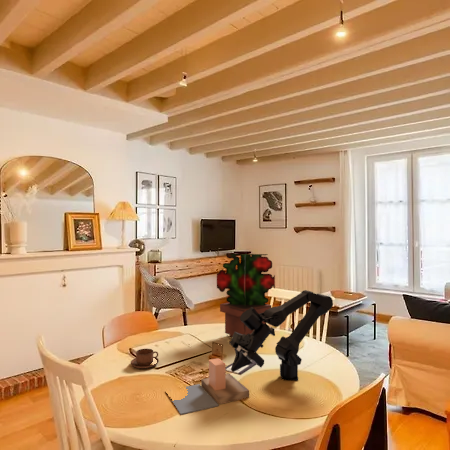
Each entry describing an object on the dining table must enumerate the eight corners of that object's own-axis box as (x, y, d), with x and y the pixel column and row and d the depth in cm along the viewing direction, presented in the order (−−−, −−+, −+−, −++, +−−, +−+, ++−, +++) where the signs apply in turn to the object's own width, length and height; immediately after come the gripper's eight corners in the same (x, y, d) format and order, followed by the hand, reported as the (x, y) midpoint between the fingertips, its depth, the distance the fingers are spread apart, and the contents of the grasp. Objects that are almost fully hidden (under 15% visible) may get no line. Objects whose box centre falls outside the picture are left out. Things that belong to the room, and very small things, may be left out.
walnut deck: (229, 380, 149) (229, 373, 149) (249, 397, 134) (249, 390, 134) (201, 385, 143) (201, 379, 143) (218, 404, 129) (218, 397, 129)
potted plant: (246, 328, 218) (246, 251, 217) (274, 338, 201) (274, 254, 200) (216, 336, 204) (216, 253, 203) (244, 347, 187) (244, 257, 186)
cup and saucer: (146, 358, 172) (146, 344, 172) (164, 364, 165) (164, 350, 165) (124, 366, 163) (124, 352, 163) (142, 373, 156) (142, 358, 155)
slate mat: (199, 384, 144) (199, 383, 144) (218, 406, 128) (218, 404, 128) (165, 391, 138) (165, 390, 138) (180, 414, 122) (180, 413, 122)
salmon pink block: (218, 381, 141) (218, 358, 141) (225, 388, 136) (225, 363, 135) (208, 383, 139) (208, 359, 139) (215, 390, 134) (215, 365, 134)
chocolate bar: (262, 359, 169) (241, 373, 154) (262, 361, 169) (241, 375, 154) (244, 355, 174) (223, 368, 159) (244, 357, 174) (223, 370, 159)
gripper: (233, 318, 150) (208, 350, 146) (257, 331, 134) (229, 367, 129) (250, 335, 154) (226, 366, 149) (275, 349, 137) (249, 385, 133)
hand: (231, 370), depth 140 cm, fingers closed
